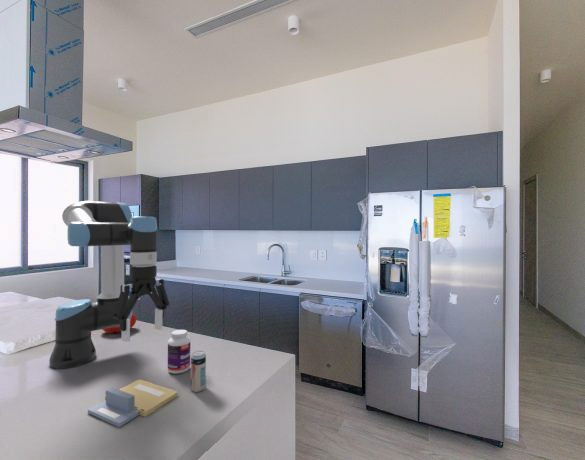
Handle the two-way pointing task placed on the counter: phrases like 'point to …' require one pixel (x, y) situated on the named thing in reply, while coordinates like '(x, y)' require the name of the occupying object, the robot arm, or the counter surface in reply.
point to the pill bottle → (178, 352)
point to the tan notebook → (148, 396)
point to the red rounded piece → (116, 329)
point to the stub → (115, 407)
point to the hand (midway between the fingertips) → (143, 334)
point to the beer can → (198, 371)
